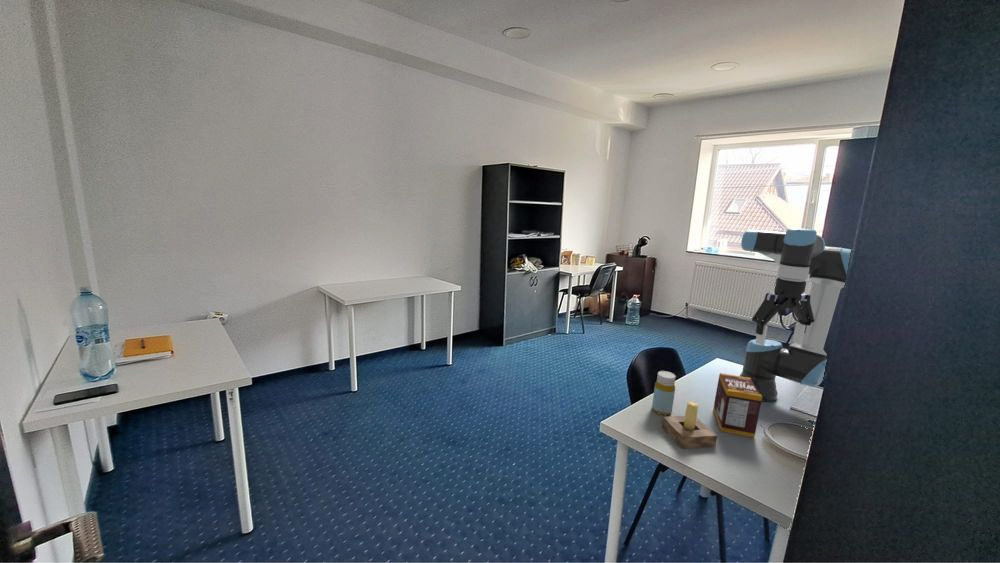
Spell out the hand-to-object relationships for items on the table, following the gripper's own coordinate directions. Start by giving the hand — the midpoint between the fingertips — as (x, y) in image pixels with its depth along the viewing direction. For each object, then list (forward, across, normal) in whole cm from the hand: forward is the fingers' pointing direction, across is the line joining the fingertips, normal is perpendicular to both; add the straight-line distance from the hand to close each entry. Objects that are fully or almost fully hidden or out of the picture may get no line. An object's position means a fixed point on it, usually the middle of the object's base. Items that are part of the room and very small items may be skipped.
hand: (778, 343), depth 124 cm
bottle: (+35, +24, -20) cm, 47 cm away
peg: (+35, +24, -4) cm, 42 cm away
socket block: (+35, +24, -4) cm, 42 cm away
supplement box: (+35, +2, -10) cm, 36 cm away
